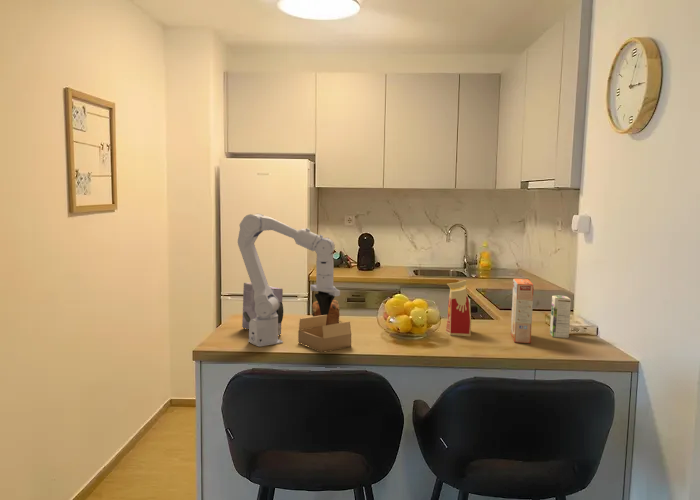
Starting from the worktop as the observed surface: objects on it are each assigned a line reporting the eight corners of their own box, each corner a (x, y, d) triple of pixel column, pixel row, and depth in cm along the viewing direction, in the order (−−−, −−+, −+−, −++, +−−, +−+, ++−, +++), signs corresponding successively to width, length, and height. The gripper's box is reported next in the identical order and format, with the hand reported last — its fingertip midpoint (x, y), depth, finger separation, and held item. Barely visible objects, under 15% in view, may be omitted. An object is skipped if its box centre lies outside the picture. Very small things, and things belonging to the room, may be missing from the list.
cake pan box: (284, 335, 197) (284, 287, 196) (273, 338, 194) (273, 288, 192) (252, 327, 211) (252, 281, 209) (241, 329, 207) (241, 282, 205)
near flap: (323, 338, 176) (324, 338, 176) (322, 326, 176) (322, 326, 176) (350, 333, 183) (351, 333, 183) (349, 321, 183) (349, 321, 183)
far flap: (325, 325, 194) (325, 325, 194) (326, 315, 193) (326, 314, 194) (299, 329, 187) (298, 329, 188) (300, 318, 187) (299, 318, 187)
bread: (339, 330, 207) (339, 304, 206) (311, 330, 206) (311, 304, 205) (338, 319, 225) (338, 295, 224) (312, 319, 225) (312, 295, 224)
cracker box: (531, 344, 189) (534, 284, 188) (513, 343, 191) (516, 283, 189) (527, 334, 203) (529, 278, 201) (510, 333, 204) (512, 277, 202)
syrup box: (549, 333, 205) (551, 295, 203) (565, 334, 204) (567, 295, 202) (552, 337, 199) (554, 297, 198) (569, 338, 198) (571, 298, 197)
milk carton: (468, 330, 209) (470, 278, 207) (471, 336, 199) (473, 281, 198) (444, 329, 209) (445, 277, 208) (446, 335, 200) (447, 281, 198)
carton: (321, 352, 176) (321, 338, 176) (298, 343, 187) (298, 330, 187) (351, 346, 184) (351, 333, 183) (326, 338, 195) (327, 325, 194)
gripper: (347, 276, 180) (347, 316, 181) (322, 271, 192) (322, 309, 193) (330, 277, 176) (329, 319, 177) (305, 272, 187) (305, 311, 189)
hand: (324, 314), depth 185 cm, fingers closed
